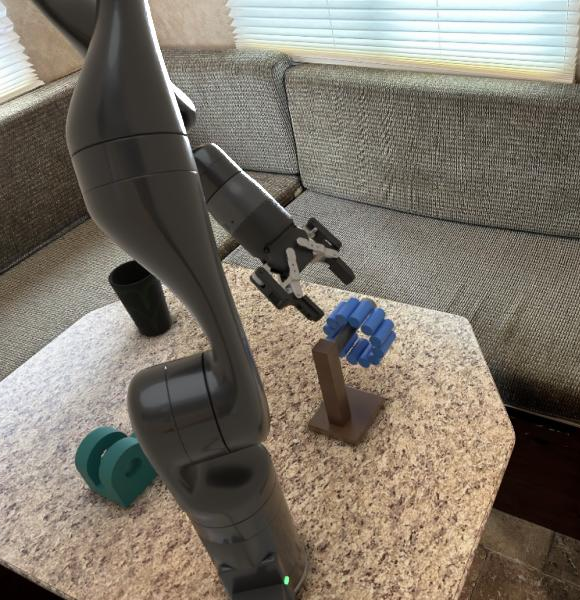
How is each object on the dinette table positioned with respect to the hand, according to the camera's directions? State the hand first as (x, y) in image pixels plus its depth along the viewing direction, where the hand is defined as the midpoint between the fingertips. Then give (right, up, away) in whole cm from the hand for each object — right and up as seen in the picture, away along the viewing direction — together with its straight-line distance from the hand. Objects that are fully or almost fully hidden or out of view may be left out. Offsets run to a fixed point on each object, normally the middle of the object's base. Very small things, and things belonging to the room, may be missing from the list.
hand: (336, 299), depth 83 cm
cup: (-35, -5, +25) cm, 43 cm away
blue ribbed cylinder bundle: (+4, -8, +5) cm, 10 cm away
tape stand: (+2, -15, +7) cm, 17 cm away
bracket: (-26, -21, +3) cm, 34 cm away
